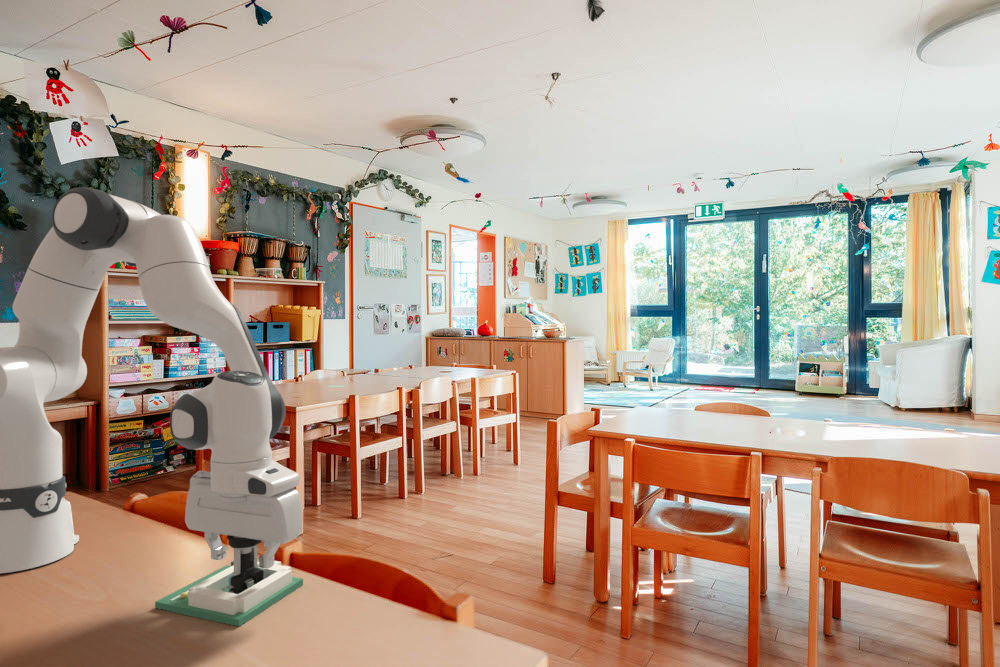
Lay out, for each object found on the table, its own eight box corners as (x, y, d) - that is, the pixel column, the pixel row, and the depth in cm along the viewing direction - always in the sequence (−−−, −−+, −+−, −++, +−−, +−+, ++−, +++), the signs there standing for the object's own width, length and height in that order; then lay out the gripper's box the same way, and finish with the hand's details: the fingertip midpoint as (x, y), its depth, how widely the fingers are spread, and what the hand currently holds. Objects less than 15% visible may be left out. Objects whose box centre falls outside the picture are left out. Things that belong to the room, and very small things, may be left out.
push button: (231, 604, 86) (230, 538, 86) (212, 594, 89) (211, 530, 89) (270, 587, 92) (270, 525, 92) (251, 579, 95) (251, 519, 95)
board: (155, 608, 87) (155, 588, 87) (228, 569, 101) (228, 552, 101) (239, 626, 82) (239, 605, 82) (304, 583, 95) (304, 565, 95)
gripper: (174, 474, 90) (174, 561, 91) (280, 486, 84) (280, 580, 84) (206, 465, 96) (207, 546, 97) (308, 475, 90) (308, 563, 90)
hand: (242, 562), depth 90 cm, fingers open, 8 cm apart
